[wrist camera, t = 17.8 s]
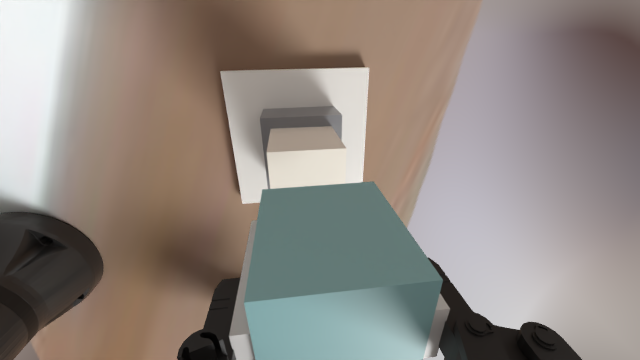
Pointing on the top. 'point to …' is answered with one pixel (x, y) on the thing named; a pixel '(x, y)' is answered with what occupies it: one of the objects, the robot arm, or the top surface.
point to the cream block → (305, 157)
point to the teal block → (337, 278)
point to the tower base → (292, 95)
